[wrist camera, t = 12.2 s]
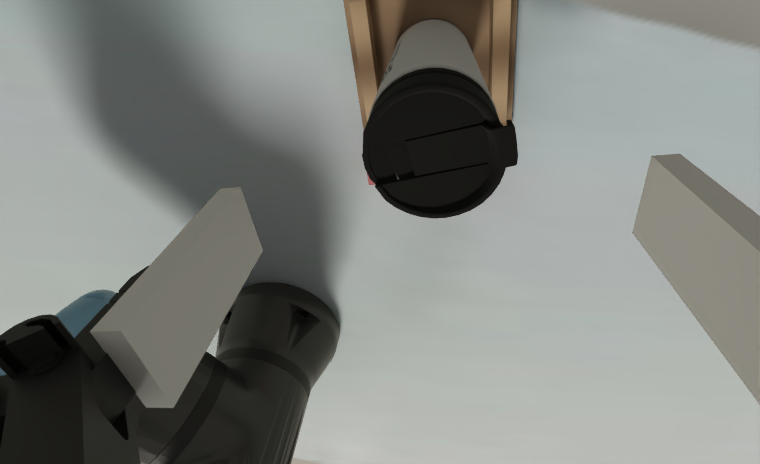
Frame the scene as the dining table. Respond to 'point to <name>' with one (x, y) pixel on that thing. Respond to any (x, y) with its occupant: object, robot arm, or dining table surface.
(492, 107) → the travel mug
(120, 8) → the dining table surface
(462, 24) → the box
